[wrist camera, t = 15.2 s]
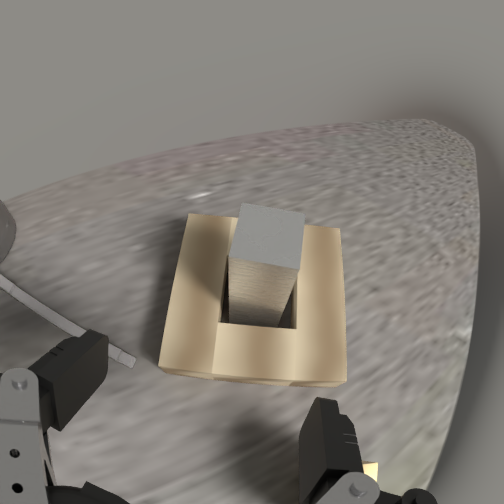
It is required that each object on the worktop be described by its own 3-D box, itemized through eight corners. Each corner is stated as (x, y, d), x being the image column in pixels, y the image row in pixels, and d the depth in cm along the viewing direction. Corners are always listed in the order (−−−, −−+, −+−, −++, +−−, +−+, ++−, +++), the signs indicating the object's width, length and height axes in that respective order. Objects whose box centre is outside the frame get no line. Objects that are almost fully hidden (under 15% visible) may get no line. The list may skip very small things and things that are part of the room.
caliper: (-8, 284, 27) (-39, 255, 22) (-4, 276, 28) (-34, 246, 23) (133, 369, 25) (107, 350, 20) (138, 358, 25) (114, 337, 20)
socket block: (165, 373, 25) (158, 365, 22) (191, 232, 32) (188, 213, 30) (334, 387, 25) (346, 381, 22) (331, 246, 32) (339, 228, 30)
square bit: (229, 322, 27) (228, 256, 18) (238, 281, 30) (242, 202, 20) (275, 330, 27) (299, 269, 18) (281, 289, 29) (305, 213, 20)
